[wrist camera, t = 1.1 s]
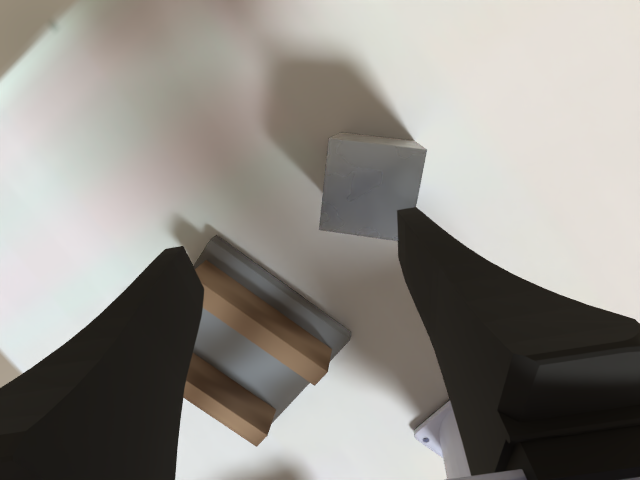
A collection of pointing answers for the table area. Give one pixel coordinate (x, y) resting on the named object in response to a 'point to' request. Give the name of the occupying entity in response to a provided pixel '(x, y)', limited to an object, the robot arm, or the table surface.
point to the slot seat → (254, 343)
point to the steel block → (369, 184)
